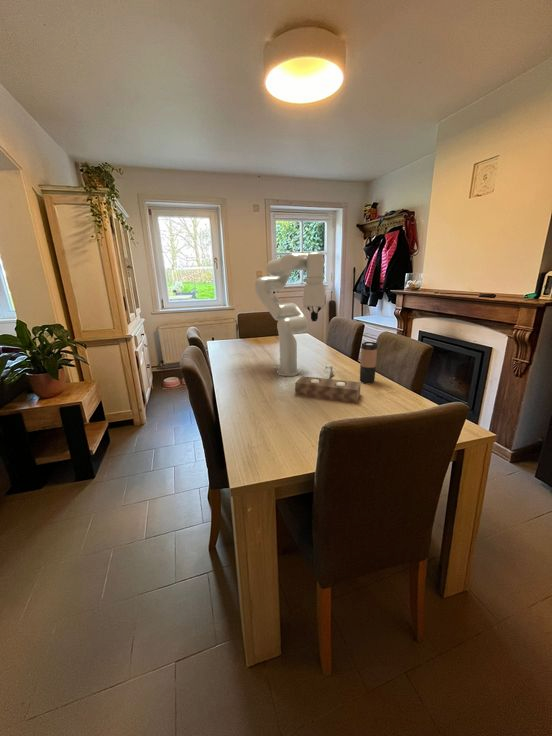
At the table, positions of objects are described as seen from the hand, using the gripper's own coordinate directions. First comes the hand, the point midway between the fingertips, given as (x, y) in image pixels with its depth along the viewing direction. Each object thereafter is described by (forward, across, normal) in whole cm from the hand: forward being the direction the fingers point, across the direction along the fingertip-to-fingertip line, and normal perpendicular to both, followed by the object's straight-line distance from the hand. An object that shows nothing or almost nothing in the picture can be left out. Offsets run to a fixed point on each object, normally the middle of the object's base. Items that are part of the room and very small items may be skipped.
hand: (314, 320), depth 146 cm
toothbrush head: (+33, +5, +6) cm, 34 cm away
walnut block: (+32, +10, -12) cm, 36 cm away
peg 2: (+31, +16, -12) cm, 37 cm away
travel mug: (+32, +25, +12) cm, 43 cm away
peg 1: (+31, +4, -12) cm, 34 cm away
